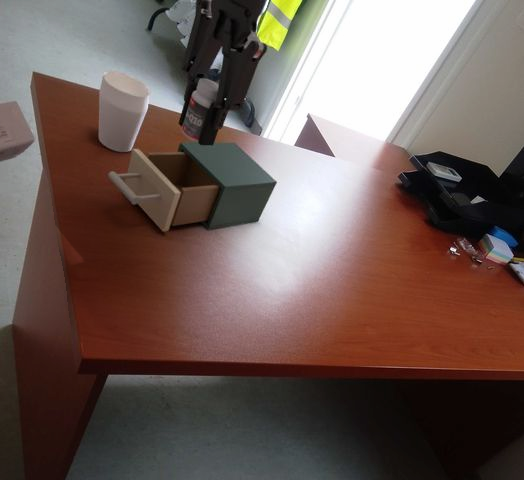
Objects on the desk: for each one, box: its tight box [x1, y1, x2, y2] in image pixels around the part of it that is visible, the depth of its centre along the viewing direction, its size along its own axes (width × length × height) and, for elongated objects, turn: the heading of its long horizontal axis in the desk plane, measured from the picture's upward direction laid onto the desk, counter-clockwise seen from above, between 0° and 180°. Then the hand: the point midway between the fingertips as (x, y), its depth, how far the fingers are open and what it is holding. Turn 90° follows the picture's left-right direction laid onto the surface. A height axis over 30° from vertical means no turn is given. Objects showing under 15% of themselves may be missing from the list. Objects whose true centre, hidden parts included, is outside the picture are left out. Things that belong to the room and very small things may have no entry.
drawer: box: [107, 148, 221, 232], centre depth 81 cm, size 19×12×8 cm, turn 136°
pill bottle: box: [181, 78, 219, 142], centre depth 73 cm, size 5×5×8 cm
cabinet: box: [176, 141, 278, 231], centre depth 91 cm, size 15×14×10 cm
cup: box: [98, 70, 151, 153], centre depth 90 cm, size 9×9×12 cm
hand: (195, 134), depth 75 cm, fingers closed on pill bottle, 5 cm apart
